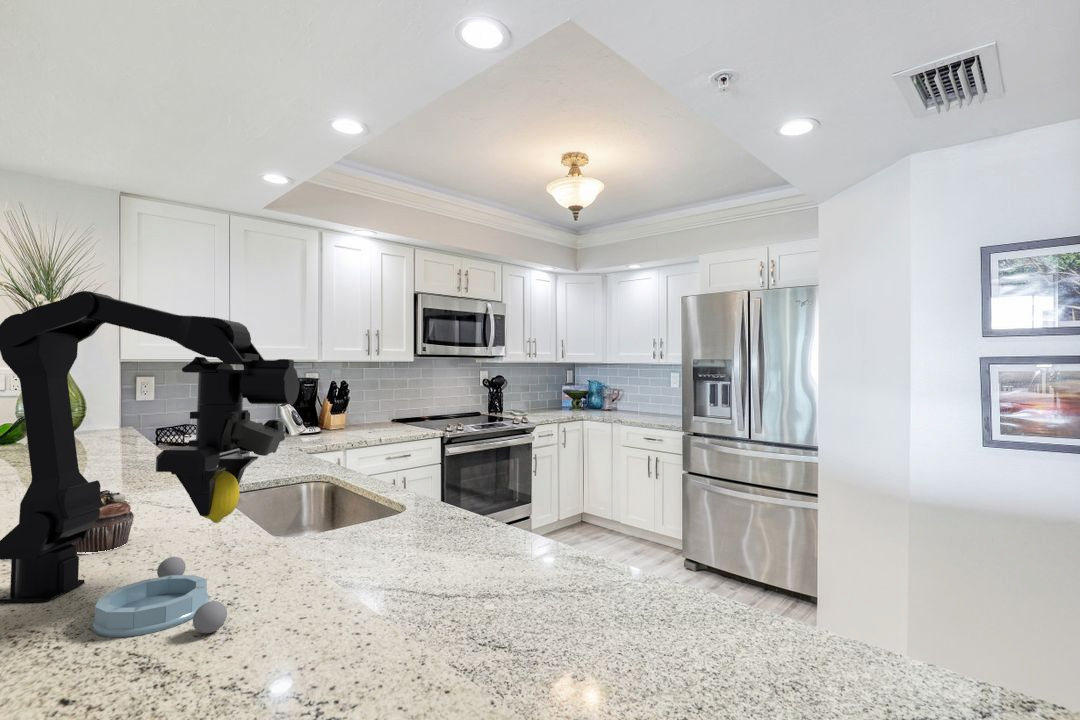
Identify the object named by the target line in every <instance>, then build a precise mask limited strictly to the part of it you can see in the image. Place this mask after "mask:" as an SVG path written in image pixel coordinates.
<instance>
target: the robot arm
mask: <svg viewBox="0 0 1080 720" xmlns="http://www.w3.org/2000/svg"><path fill="white" fill-rule="evenodd" d="M104 324H109V325H114V326H117V327H120V328H125V329H129V330H132V331H133V330H134V331H137V332H142V333H145V334H149V335H154V336H157V337H161V338H165V339H168V340H171V341H173V342H175V343H177V344H178V345H180V346H182V347H183V348H185V349H188V350H189V351H192V352H194V353H197V354H199V355H201V356H195V357H194V358H193V360H192V361H190V362H189V363H188V364H186V365H185V366H183V367H182V369H181V371H182V373H186V374H187V373H189V374H193V373H195V374H198V377H197V378H198V379H197V405H196V410H194V411H193V410H192V411H189V419H190V420H196V429H195V430H196V431H195V438H194V439H191V440H188V446H177V447H172V448H168V449H167V448H166V449H163V450H162V451H161V452H160V453H159V454H158V455H157V456H155V472H157V473H170V474H171V475H175V476H176V478H177V479H178V481H179V483H180V484H181V485H182V487H183V488H184V490H185V491H186V494H187V495H188V496H189V498H190V500H191V501H192V503H193V505H194V507H195V509H196V511H197V512H198V514H199V516H200V517H203V516H208V515H210V511H211V506H212V500H213V494H214V487H215V481H216V478H217V477H218V476H219V475H220V474H221V473H222V472H223V471H227V472H229V473H231V474H232V475H233V476H234V477H235V478H236V479H237V482H238V485H239V486H240V482H241V479H242V478H243V475H244V473H245V471H246V468H248V467H249V466H250V465H251V464H252V463H253V462H255V461H257V460H258V459H259V456H263V457H264V456H265V457H266V456H268V455H269V454H275V453H277V450H278V448H279V446H280V443H281V442H283V441H285V440H286V436H285V433H286V431H285V430H284V422H283V421H281V420H278V419H276V418H272V419H268V420H267V421H266V422H265V423H263V422H256V421H252V420H251V413H250V411H249V409H243V408H244V407H243V405H244V404H243V401H244V399H246V400H247V402H248V403H249V404H251V405H294V404H295V402H296V401H297V399H298V397H299V393H300V382H301V381H300V380H299V378H298V373H297V370H296V368H295V360H294V359H292V358H291V359H288V358H287V359H286V358H279V359H274V360H273V359H272V360H271V359H269V360H268V359H264V357H263V356H262V355H261V353H260V352H259V350H257V348H256V347H255V345H254V343H252V341H251V340H252V336H251V333H250V332H249V330H248V327H247V326H245V325H244V324H242V323H241V322H237V321H232V320H229V319H223V318H219V317H211V316H201V315H200V316H198V315H179V314H176V313H172V312H167V311H164V310H160V309H156V308H152V307H147V306H145V305H144V306H143V305H142V304H141V305H140V304H136V303H133V302H128V301H124V300H120V299H116V298H113V297H112V296H110V295H107V294H103V293H98V292H93V291H89V290H82V291H77V292H75V293H73V294H70V295H68V296H67V297H65V298H63V299H60V300H57V301H54V302H53V301H52V302H50V303H45V304H42V305H38V306H36V307H35V306H34V307H32V308H30V309H27V310H26V311H24V312H22V313H15V314H12V315H10V316H8V317H6V318H4V320H2V322H1V323H0V355H1V359H2V360H3V361H4V363H5V364H6V365H7V366H8V368H10V369H9V370H11V371H12V372H13V373H14V375H16V376H17V378H18V379H19V385H20V392H21V401H22V409H23V415H24V425H25V433H26V441H27V449H28V457H29V466H30V475H31V481H30V484H29V486H28V487H27V489H26V491H25V493H24V495H23V497H22V499H21V501H20V503H19V516H18V518H19V519H18V524H17V525H16V526H15V527H14V528H12V529H11V530H10V531H9V532H7V534H6V535H5V536H4V537H2V538H1V539H0V560H1V561H2V560H4V561H5V560H6V561H7V560H11V563H10V565H11V566H10V583H9V584H10V588H9V589H10V592H9V593H8V594H5V595H3V596H1V597H0V603H31V602H33V603H34V602H35V603H38V602H42V603H43V602H48V601H51V600H53V599H54V598H57V597H59V596H61V595H63V594H65V593H67V592H69V591H71V590H74V589H75V588H77V587H80V586H82V585H84V584H85V579H79V570H80V569H79V568H80V567H79V565H80V557H79V556H78V554H77V545H72V544H73V543H75V542H78V541H81V540H84V539H86V536H87V534H88V532H89V529H90V527H91V526H92V525H93V524H94V523H95V522H96V520H98V518H99V515H100V508H101V507H104V504H103V502H102V501H101V497H100V492H101V483H100V481H99V480H93V481H88V479H86V478H85V477H84V476H83V474H81V472H80V469H79V462H78V461H79V460H78V454H77V446H76V445H77V444H76V438H75V437H76V436H75V429H74V421H73V420H74V419H73V413H72V405H71V404H72V403H71V396H70V395H71V394H70V388H69V381H68V378H69V377H68V376H69V372H70V371H71V369H72V367H73V365H74V364H75V361H76V360H77V358H78V347H79V343H80V342H82V341H85V340H86V339H89V338H90V337H92V336H93V335H94V334H95V333H96V332H97V331H98V330H99V329H100V327H101V326H102V325H104ZM203 356H204V357H203ZM207 358H216V359H218V360H219V361H209V360H208V359H207ZM232 365H235V366H236V365H241V366H243V369H234V368H233V366H232ZM250 453H254V454H255V455H256V456H255V455H251V456H250Z"/></svg>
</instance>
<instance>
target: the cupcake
mask: <svg viewBox="0 0 1080 720" xmlns="http://www.w3.org/2000/svg"><path fill="white" fill-rule="evenodd" d="M100 497H101V501H102V502H103V504H104V507H101V508H100V515H99V518H98V520H96V522H95V523H94V524H93V525H92V526H91V527H90V529H89V532H88V534H87V536H86V539H84V540H81V541H78V542H75V543H73V544H72V545H77V552H85V553H86V552H98V551H105V550H106V551H107V550H110V549H114V548H117V547H120V546H122V545H124V544H126V543H127V544H128V542H129V538H130V534H131V528H132V525H133V523H134V519H135V515H134V513H133V512H132V511H131V509H132V507H131V505H130V504H129V503H128V502H127V501H126V495H125V493H120V492H113V493H112V492H111V491H110V490H108V489H106V490H100ZM127 544H126V545H127Z"/></svg>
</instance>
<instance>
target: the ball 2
mask: <svg viewBox="0 0 1080 720" xmlns="http://www.w3.org/2000/svg"><path fill="white" fill-rule="evenodd" d="M227 617H228V611H227V608H226V605H224V603H222V602H220V601H217V600H216V601H215V600H213V601H212V600H211V601H209V602H207V603H205V604H203V605H202V606H200V607H199V608H198V609H197V611H196V612H195V614H194V617H193V619H192V625H193V627H194V629H195V630H196V631H197V632H198V633H201V634H212V633H214V632H215V631H218V630H219V629H220V628H222V627H223V626H224V624H225V622H226V621H227Z"/></svg>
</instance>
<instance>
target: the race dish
mask: <svg viewBox="0 0 1080 720" xmlns="http://www.w3.org/2000/svg"><path fill="white" fill-rule="evenodd" d="M207 584H208V579H207V578H205V577H202V576H198V575H195V574H183V575H171V576H165V577H153V578H148V579H142V580H140V581H137V582H132V583H129V584H126V585H122V586H120V587H117V588H115V589H114V590H111V591H110V592H108V593H106V594H104V595H102V596H100V597H99V599H98V600H97V602H96V604H95V605H94V618H93V620H92V630H93V632H94V633H95V634H96V635H98V636H101V637H106V638H130V637H136V636H144V635H149V634H152V633H157V632H160V631H165V630H168V629H170V628H174V627H176V626H180V625H182V624H184V623H186V622H188V621H191V620H193V617H194V614H195V612H196V611H197V609H198V608H199V607H200V606H202V605H203V604H205V603H207V602H210V597H209V594H208V593H207V586H208V585H207Z"/></svg>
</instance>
